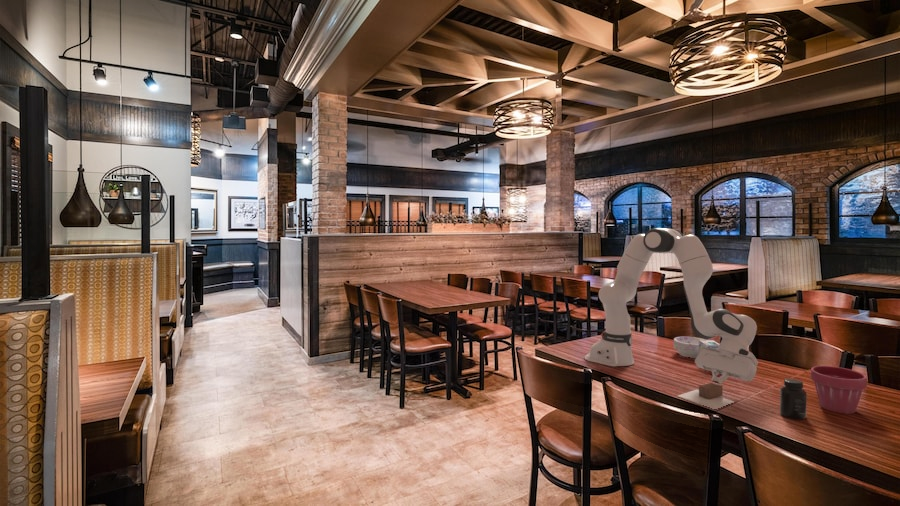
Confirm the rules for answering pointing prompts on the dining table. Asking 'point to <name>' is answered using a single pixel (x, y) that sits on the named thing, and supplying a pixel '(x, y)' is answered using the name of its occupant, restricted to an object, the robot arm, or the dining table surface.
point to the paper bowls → (687, 346)
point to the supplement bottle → (793, 399)
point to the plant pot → (838, 388)
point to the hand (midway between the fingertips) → (715, 382)
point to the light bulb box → (707, 344)
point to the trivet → (705, 400)
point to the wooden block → (710, 390)
